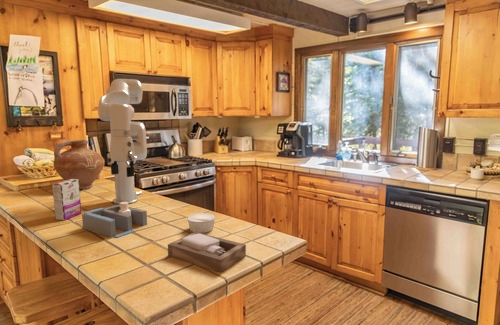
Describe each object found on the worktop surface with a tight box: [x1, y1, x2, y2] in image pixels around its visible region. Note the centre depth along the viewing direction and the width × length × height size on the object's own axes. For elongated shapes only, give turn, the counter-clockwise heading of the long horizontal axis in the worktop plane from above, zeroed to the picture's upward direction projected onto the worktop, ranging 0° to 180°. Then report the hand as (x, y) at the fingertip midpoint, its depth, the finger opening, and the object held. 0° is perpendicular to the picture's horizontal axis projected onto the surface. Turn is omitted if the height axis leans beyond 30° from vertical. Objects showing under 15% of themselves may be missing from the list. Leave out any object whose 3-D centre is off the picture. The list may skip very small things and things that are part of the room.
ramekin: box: [187, 212, 216, 234], centre depth 137 cm, size 11×11×5 cm
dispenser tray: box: [167, 232, 247, 273], centre depth 112 cm, size 14×22×4 cm, turn 59°
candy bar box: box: [51, 179, 83, 221], centre depth 151 cm, size 11×5×16 cm, turn 168°
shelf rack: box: [81, 204, 148, 239], centre depth 139 cm, size 18×20×7 cm
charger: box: [181, 233, 226, 256], centre depth 112 cm, size 5×9×15 cm
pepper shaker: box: [118, 202, 131, 215], centre depth 142 cm, size 4×4×10 cm
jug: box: [53, 139, 105, 190], centre depth 206 cm, size 28×28×30 cm
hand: (122, 175), depth 139 cm, fingers open, 9 cm apart
